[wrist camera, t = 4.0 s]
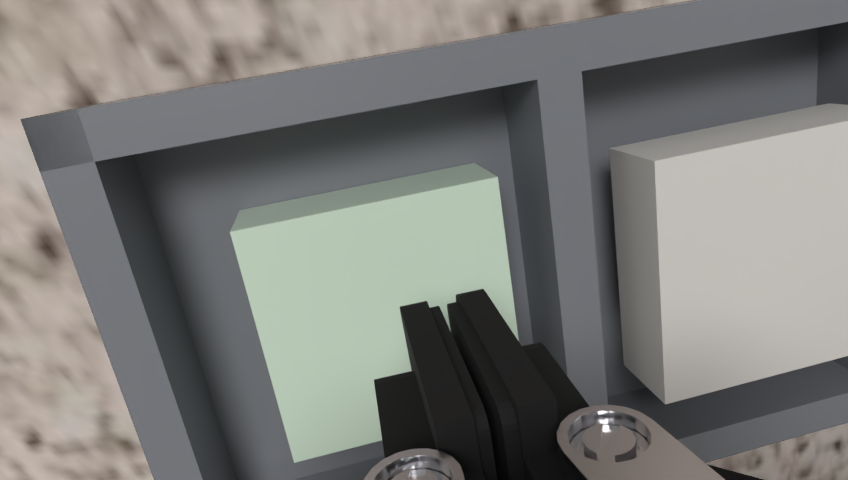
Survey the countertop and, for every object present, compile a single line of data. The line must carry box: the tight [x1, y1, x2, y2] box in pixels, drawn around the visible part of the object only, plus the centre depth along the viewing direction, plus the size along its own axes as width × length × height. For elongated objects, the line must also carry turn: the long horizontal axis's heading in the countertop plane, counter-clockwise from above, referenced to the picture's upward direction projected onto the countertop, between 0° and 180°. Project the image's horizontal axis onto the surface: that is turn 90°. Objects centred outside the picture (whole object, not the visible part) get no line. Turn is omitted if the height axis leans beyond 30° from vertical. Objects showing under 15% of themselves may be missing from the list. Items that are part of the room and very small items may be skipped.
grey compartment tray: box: [21, 0, 848, 480], centre depth 17 cm, size 30×12×4 cm, turn 99°
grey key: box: [609, 103, 848, 404], centre depth 15 cm, size 6×6×2 cm
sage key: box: [230, 163, 519, 463], centre depth 15 cm, size 6×6×2 cm
